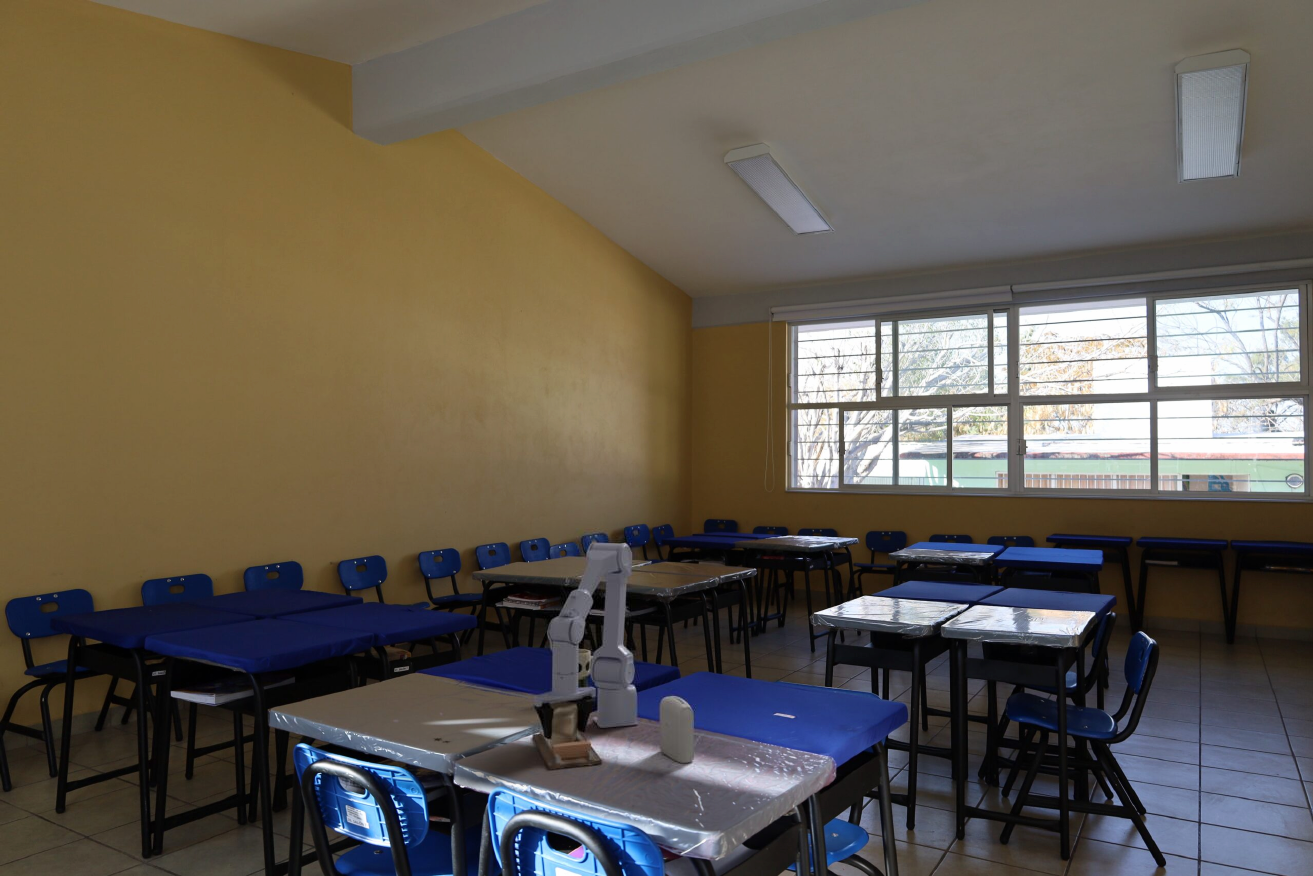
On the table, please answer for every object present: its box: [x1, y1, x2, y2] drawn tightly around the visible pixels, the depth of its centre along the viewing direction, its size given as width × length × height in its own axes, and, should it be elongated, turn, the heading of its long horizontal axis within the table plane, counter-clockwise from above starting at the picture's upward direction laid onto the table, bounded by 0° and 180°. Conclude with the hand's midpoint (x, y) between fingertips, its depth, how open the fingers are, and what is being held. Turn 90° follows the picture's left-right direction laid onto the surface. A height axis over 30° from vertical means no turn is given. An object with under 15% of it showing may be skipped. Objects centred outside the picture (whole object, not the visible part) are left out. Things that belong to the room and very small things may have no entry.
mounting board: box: [532, 731, 603, 770], centre depth 176 cm, size 11×22×1 cm, turn 18°
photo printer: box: [659, 695, 695, 764], centre depth 172 cm, size 10×4×12 cm, turn 26°
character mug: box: [571, 648, 593, 702], centre depth 218 cm, size 11×7×13 cm, turn 125°
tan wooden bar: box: [552, 740, 592, 759], centre depth 170 cm, size 8×2×2 cm, turn 108°
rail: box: [538, 728, 594, 764], centre depth 176 cm, size 8×21×1 cm, turn 18°
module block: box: [551, 707, 578, 745], centre depth 177 cm, size 4×7×6 cm, turn 175°
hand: (564, 734), depth 176 cm, fingers closed on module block, 7 cm apart
